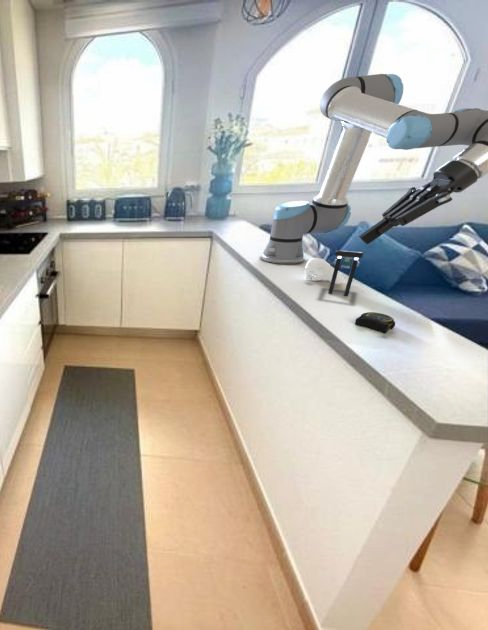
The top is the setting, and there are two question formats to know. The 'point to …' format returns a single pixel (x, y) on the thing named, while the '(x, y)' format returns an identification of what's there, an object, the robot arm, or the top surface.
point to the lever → (348, 257)
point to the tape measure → (375, 321)
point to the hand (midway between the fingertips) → (363, 240)
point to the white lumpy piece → (321, 271)
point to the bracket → (353, 268)
